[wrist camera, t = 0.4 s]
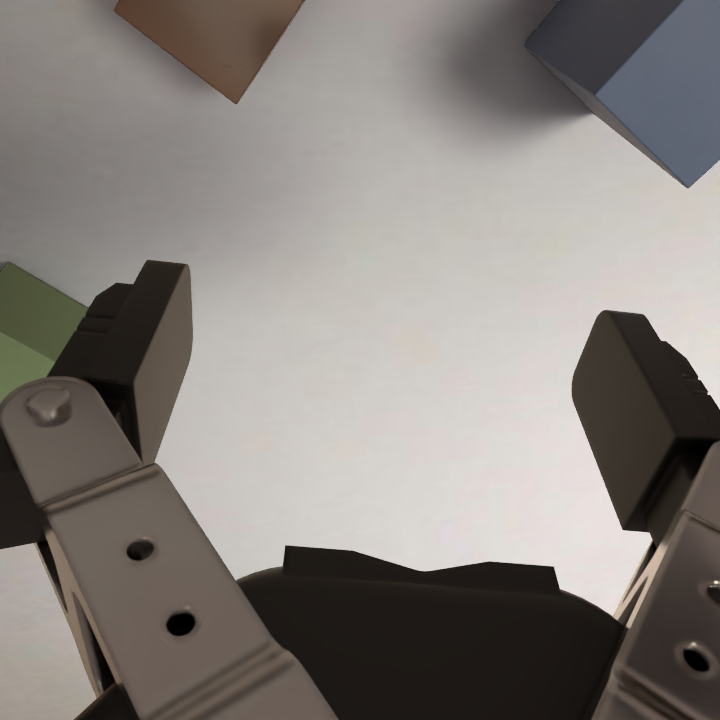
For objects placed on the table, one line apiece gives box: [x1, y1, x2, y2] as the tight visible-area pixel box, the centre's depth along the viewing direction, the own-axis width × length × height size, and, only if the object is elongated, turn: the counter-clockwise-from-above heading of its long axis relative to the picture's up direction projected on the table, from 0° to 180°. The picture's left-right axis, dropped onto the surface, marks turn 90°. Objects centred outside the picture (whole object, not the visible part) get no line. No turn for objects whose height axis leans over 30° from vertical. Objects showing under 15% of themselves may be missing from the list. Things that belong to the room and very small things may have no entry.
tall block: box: [524, 0, 720, 188], centre depth 23 cm, size 5×5×10 cm
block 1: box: [0, 263, 88, 404], centre depth 33 cm, size 5×5×5 cm
